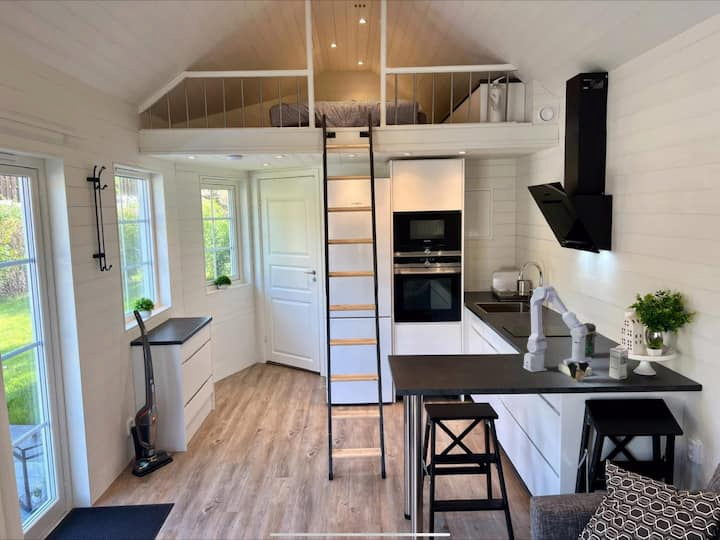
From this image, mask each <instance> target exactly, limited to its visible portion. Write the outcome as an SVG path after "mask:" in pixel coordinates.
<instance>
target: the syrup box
mask: <svg viewBox="0 0 720 540" xmlns="http://www.w3.org/2000/svg"><path fill="white" fill-rule="evenodd" d="M609 351H610V352H609V374H608V375H609V377H611V378H613V379H616V380H624V379H627V378H628V366H629V365H628V363H629V349H627V348H626V347H625V348H624V347H622V346H621V347H620V346H618V347H613V348H609Z"/></svg>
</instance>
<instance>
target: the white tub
mask: <svg viewBox="0 0 720 540" xmlns="http://www.w3.org/2000/svg"><path fill="white" fill-rule="evenodd" d="M575 365H577V366H578V367H577V369H579V365H578V363H575ZM557 366H558V367H557V368H558V372H561V373H563V374H565V375H567V376H569V377H571V374H570V370H569V368H568V366H567V365H566V364H564V362H562V363H561V362H560V363H558V365H557ZM592 371H593V369H592V367H589V366H588V367H587V369H586V371H585V373H584V377H588V376H592ZM587 375H588V376H587Z"/></svg>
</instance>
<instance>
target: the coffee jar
mask: <svg viewBox="0 0 720 540" xmlns="http://www.w3.org/2000/svg"><path fill="white" fill-rule="evenodd" d="M582 325H585V326H586V327H587V329H588V334H587V335H586V340H585V357H590V358H593V357H595V343H596V342H595V340H596V339H595V338H596V332H597V329H596V328H597V326H596V325H595V324H594V323H590V322H586V323H582ZM584 337H585V336H584Z"/></svg>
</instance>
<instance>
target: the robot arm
mask: <svg viewBox="0 0 720 540" xmlns="http://www.w3.org/2000/svg"><path fill="white" fill-rule="evenodd" d="M532 291H533V292H532V296H531V298H530V300H529V301H530V325H531V326H530V328H531V329H530V331H531V334H530V336H529V337H528V342H527V345H526V348H527V351H528V352H527V353H526V352H525V353H524V356H523V366H522V368H524V369H525V370H527V371H529V372H531V373H534V372H544V371H548V369H547V368H546V367H545V352H546V349H547V348H548V342H547V341H546V339H547V338H546V336H545V334H544V333H543V331H544V330H543V306H542V305H543V303H544V302H548V303H551V304H553V306H554V307H555V308H556V309H557V311H558V312H560V314H561V315H562V316H561V318H562V321H563V322H564V323H565V324H566V326H567V327H568V329H569V331H570V336H571V337H572V338H571V339H572V343H571V344H572V345H571V357H569V358H565V359H563V363H564V364H566V365H567V366H568V368H569V370H570V374H571V376H570V378H571V377H572V378H575V376H576V369H577V367H578V366H577V365H575V363H578V365H579V369H580V370H582V371H584V373H585V371H586V369H587V367H589V366H590V363H593V357H585V340H586V335H587V334H588V329H587V327H586V326H585V325H582V324H583V323H582V322H580V320H579V319H578V318H577V315H576V314H575V313H573V312H572V311H569V310H568V308H567V306H566V305H565V304H564V302H563V301H562V299H561V298H560V296H559V293H558V291H557V289H555V287H554V286H553V285H550V284H547V285H544V286H538V287H536V288H535V289H534V290H532ZM584 336H585V337H584Z"/></svg>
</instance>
